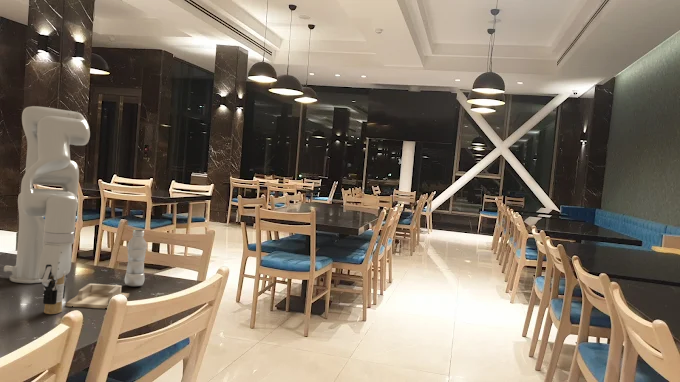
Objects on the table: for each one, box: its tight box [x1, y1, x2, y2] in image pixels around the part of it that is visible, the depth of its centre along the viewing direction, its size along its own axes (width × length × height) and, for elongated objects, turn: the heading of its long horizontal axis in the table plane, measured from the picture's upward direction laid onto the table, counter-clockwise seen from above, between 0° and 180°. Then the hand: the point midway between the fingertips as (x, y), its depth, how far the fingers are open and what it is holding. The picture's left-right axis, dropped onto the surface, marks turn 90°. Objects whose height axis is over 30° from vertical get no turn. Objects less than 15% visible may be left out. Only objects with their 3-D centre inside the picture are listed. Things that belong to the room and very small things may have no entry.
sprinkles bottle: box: [43, 271, 65, 315], centre depth 136 cm, size 5×5×13 cm
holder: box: [65, 283, 130, 309], centre depth 150 cm, size 14×14×4 cm
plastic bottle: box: [124, 229, 148, 288], centre depth 170 cm, size 6×7×20 cm
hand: (53, 300), depth 136 cm, fingers closed on sprinkles bottle, 4 cm apart
